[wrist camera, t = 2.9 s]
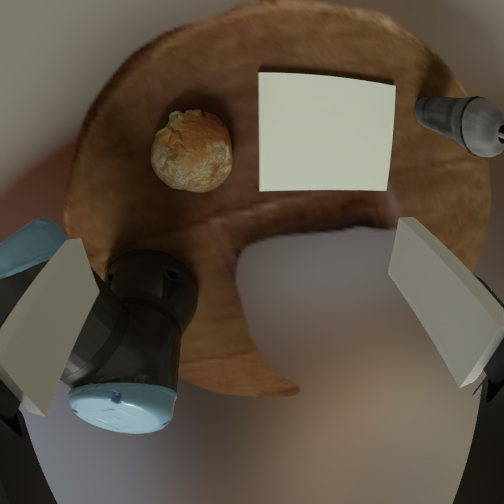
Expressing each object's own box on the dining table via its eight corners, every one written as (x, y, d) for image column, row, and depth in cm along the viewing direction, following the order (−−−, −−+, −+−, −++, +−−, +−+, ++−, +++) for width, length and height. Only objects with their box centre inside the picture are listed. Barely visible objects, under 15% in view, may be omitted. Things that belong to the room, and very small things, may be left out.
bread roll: (159, 164, 39) (147, 206, 34) (156, 100, 31) (137, 135, 26) (230, 168, 40) (228, 211, 36) (239, 104, 32) (238, 140, 27)
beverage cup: (445, 133, 35) (546, 176, 18) (409, 139, 36) (513, 186, 19) (440, 87, 32) (547, 110, 14) (402, 89, 32) (514, 109, 15)
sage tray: (258, 188, 38) (259, 191, 37) (257, 73, 31) (258, 72, 30) (383, 188, 40) (386, 190, 39) (391, 85, 32) (395, 86, 31)
